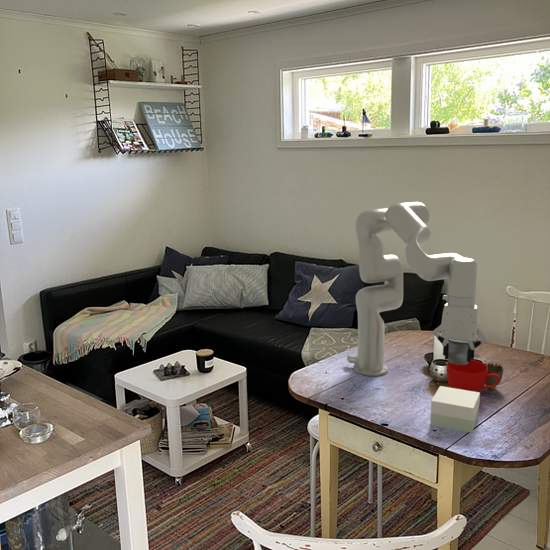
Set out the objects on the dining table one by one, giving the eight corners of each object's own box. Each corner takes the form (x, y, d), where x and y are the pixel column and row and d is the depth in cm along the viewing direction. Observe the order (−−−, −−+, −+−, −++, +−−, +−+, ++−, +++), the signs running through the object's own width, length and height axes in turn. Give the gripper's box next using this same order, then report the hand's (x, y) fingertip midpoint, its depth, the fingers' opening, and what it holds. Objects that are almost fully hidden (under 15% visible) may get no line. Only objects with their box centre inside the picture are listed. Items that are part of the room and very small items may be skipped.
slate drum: (445, 363, 176) (446, 343, 174) (449, 356, 181) (450, 337, 180) (467, 366, 173) (468, 346, 172) (470, 359, 178) (471, 340, 177)
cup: (503, 394, 199) (505, 371, 197) (480, 392, 200) (481, 370, 198) (500, 385, 206) (501, 363, 204) (477, 383, 207) (479, 361, 205)
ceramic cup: (493, 408, 188) (495, 378, 186) (440, 397, 197) (441, 368, 195) (502, 393, 199) (504, 365, 197) (451, 383, 208) (453, 356, 206)
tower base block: (430, 426, 178) (430, 414, 178) (438, 410, 189) (438, 398, 188) (472, 434, 173) (472, 421, 172) (477, 417, 184) (478, 405, 183)
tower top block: (430, 413, 178) (431, 400, 177) (439, 397, 188) (440, 385, 188) (472, 421, 173) (473, 408, 172) (479, 404, 183) (480, 392, 182)
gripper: (428, 300, 173) (426, 359, 177) (491, 307, 166) (487, 368, 170) (433, 294, 180) (431, 351, 184) (494, 300, 173) (490, 359, 177)
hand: (458, 359), depth 177 cm, fingers closed on slate drum, 6 cm apart
